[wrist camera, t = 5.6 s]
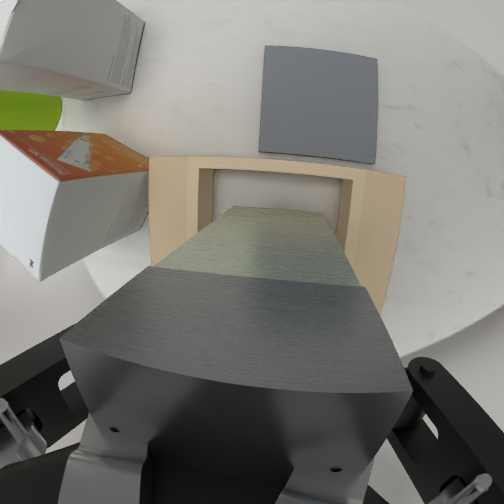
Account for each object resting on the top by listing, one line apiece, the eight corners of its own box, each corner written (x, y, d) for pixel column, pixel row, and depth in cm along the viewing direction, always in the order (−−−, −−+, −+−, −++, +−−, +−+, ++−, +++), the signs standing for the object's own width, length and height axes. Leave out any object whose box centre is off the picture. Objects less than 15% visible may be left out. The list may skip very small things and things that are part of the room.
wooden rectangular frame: (387, 173, 20) (406, 176, 17) (365, 306, 24) (375, 330, 20) (171, 157, 22) (149, 157, 19) (172, 287, 26) (154, 307, 22)
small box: (169, 168, 23) (61, 181, 10) (140, 230, 25) (39, 286, 12) (104, 131, 22) (-8, 128, 10) (81, 190, 24) (-24, 218, 12)
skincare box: (96, 32, 19) (-12, -12, 4) (150, 20, 18) (45, -55, 4) (81, 104, 22) (-49, 92, 7) (134, 97, 21) (-7, 61, 6)
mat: (374, 62, 18) (377, 59, 17) (372, 164, 20) (374, 164, 20) (265, 49, 19) (264, 45, 18) (259, 151, 21) (258, 151, 21)
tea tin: (323, 212, 14) (413, 390, 3) (307, 333, 16) (304, 537, 5) (232, 205, 14) (60, 338, 3) (230, 325, 17) (153, 512, 5)
